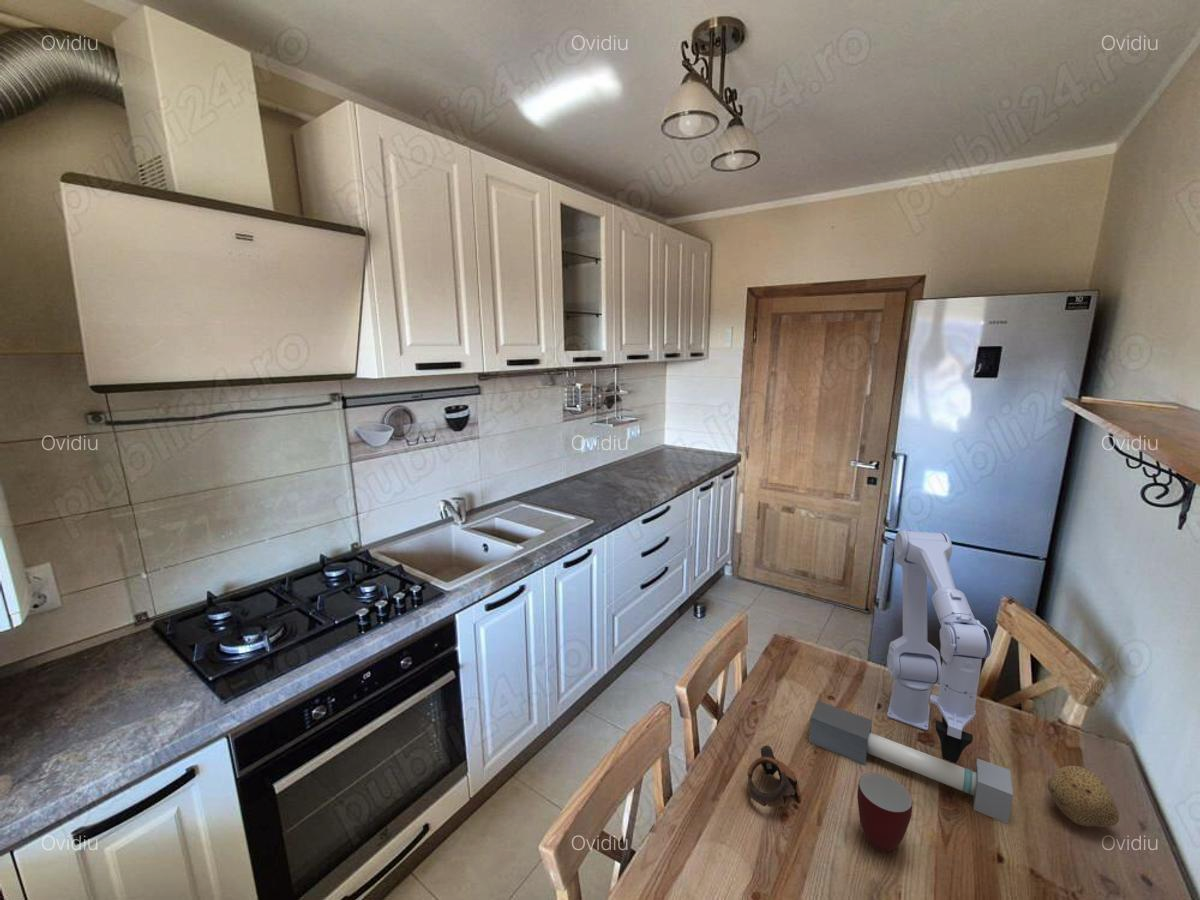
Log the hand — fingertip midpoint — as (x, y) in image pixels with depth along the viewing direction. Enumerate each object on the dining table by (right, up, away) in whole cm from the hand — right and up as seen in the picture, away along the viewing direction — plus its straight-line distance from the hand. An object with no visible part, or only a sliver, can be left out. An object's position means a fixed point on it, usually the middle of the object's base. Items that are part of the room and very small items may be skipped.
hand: (949, 747), depth 96 cm
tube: (-4, -7, +4) cm, 9 cm away
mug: (-19, -11, -8) cm, 23 cm away
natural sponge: (+19, -10, -6) cm, 22 cm away
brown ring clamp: (-34, -9, +1) cm, 35 cm away
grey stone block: (-15, -7, +12) cm, 21 cm away
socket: (+6, -9, -2) cm, 11 cm away
